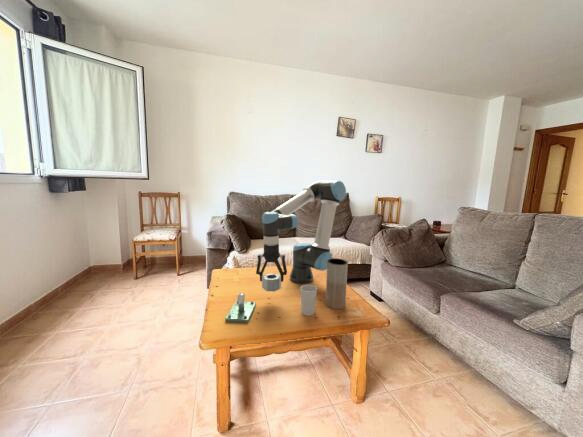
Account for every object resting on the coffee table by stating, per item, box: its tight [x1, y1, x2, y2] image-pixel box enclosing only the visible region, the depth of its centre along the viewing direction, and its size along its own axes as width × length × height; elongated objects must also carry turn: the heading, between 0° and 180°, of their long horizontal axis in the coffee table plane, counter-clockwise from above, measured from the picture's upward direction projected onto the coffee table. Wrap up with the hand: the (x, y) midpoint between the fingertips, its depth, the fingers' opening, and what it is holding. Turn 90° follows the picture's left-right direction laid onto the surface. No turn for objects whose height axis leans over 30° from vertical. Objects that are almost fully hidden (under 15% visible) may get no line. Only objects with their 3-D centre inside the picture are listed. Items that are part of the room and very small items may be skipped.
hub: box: [262, 273, 280, 292], centre depth 120 cm, size 8×8×6 cm
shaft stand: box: [224, 292, 257, 324], centre depth 110 cm, size 10×16×9 cm, turn 176°
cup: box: [299, 284, 318, 316], centre depth 112 cm, size 8×8×12 cm
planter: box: [325, 257, 348, 310], centre depth 120 cm, size 10×10×23 cm
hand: (271, 287), depth 120 cm, fingers closed on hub, 8 cm apart
